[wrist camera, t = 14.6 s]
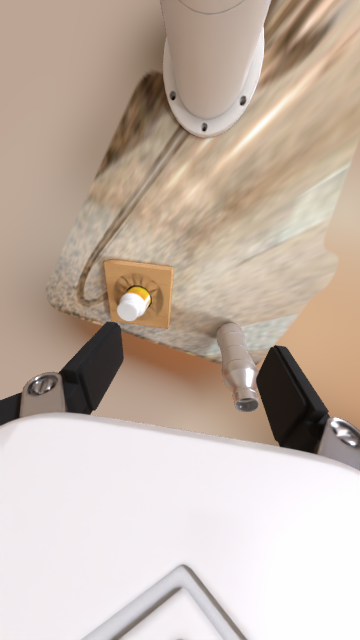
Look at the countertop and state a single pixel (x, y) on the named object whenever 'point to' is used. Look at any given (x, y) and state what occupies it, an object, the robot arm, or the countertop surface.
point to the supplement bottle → (134, 303)
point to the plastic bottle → (238, 367)
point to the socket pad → (147, 276)
